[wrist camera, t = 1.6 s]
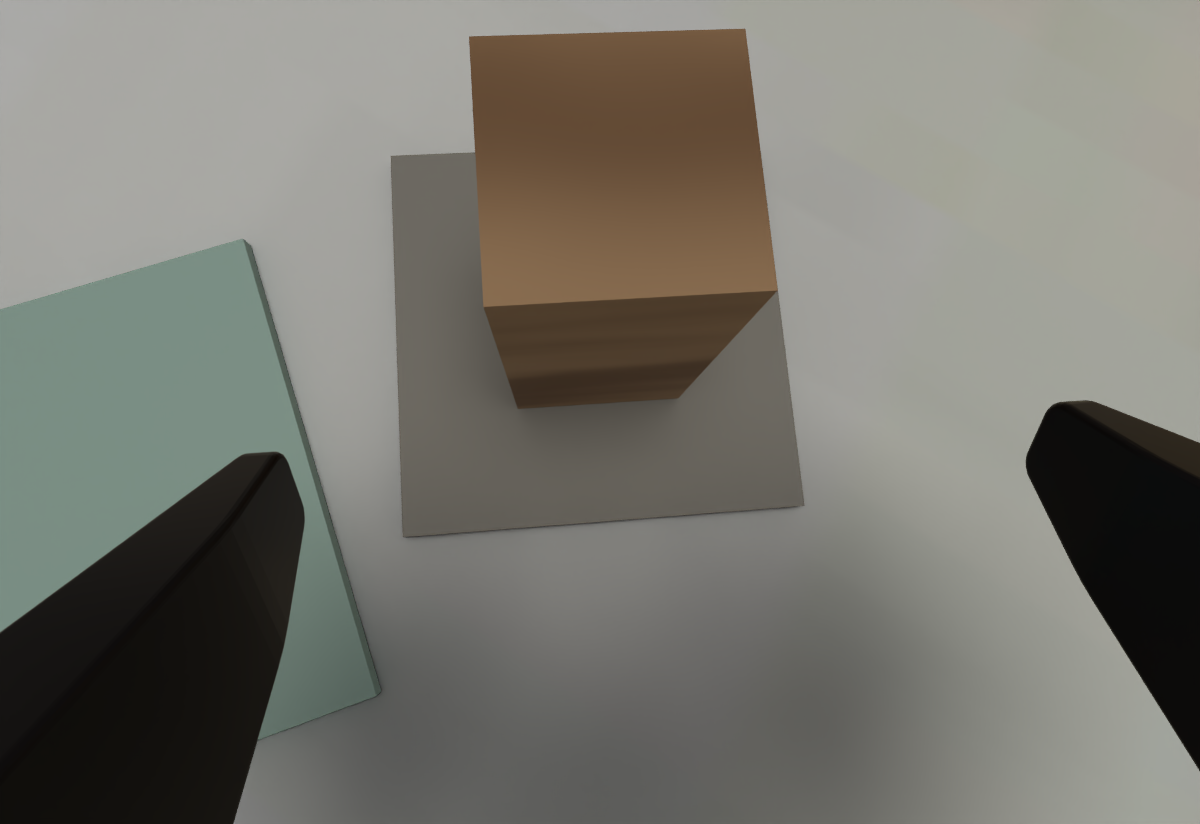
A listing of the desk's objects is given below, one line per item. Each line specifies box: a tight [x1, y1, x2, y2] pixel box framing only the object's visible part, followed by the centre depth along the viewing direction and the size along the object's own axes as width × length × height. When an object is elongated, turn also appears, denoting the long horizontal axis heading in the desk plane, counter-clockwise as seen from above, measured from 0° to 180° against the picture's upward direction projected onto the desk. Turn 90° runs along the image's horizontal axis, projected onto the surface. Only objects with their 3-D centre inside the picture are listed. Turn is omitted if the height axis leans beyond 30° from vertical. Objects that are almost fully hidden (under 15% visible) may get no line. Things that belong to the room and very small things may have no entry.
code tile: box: [391, 143, 804, 537], centre depth 20 cm, size 11×11×1 cm
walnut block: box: [469, 29, 778, 409], centre depth 15 cm, size 4×4×9 cm
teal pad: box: [0, 239, 381, 740], centre depth 18 cm, size 13×13×1 cm
